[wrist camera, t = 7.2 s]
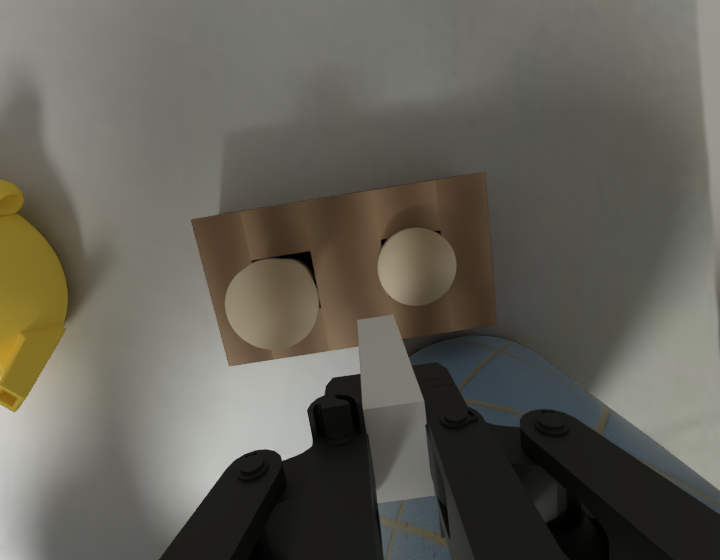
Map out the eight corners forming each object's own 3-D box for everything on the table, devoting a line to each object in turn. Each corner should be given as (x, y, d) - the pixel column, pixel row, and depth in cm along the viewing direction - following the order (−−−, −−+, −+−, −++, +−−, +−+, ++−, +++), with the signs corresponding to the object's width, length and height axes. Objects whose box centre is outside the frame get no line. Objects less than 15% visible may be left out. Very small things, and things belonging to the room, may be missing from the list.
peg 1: (262, 318, 31) (236, 356, 24) (246, 250, 30) (214, 269, 23) (331, 308, 31) (325, 342, 24) (318, 239, 30) (308, 254, 23)
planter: (565, 300, 36) (924, 485, 14) (578, 493, 42) (853, 858, 19) (335, 344, 37) (310, 593, 14) (377, 529, 42) (408, 927, 19)
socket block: (248, 338, 37) (229, 366, 31) (218, 214, 34) (190, 219, 28) (473, 303, 36) (496, 324, 30) (461, 175, 33) (485, 172, 28)
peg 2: (377, 287, 35) (383, 311, 28) (368, 226, 34) (372, 235, 27) (438, 277, 35) (459, 299, 28) (431, 215, 34) (452, 222, 27)
